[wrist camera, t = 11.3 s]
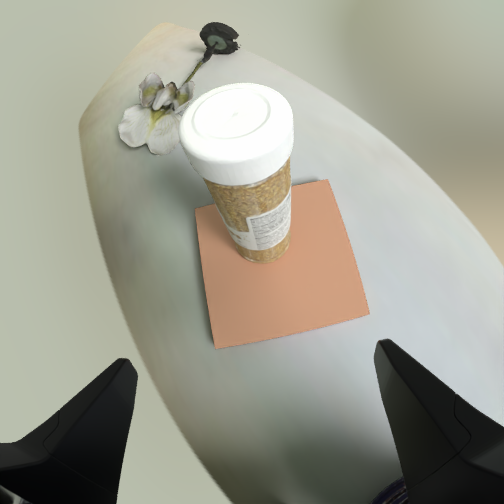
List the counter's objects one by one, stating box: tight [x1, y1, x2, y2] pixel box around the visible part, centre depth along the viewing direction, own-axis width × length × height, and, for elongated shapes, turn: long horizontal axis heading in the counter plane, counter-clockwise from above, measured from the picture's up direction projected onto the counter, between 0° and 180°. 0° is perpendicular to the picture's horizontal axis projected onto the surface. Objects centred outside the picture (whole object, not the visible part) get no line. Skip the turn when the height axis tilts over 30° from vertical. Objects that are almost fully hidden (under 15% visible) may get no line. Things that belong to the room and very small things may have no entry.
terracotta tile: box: [195, 179, 370, 349], centre depth 22 cm, size 12×12×1 cm
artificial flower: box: [118, 22, 240, 156], centre depth 28 cm, size 9×22×10 cm, turn 155°
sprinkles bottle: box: [178, 83, 294, 264], centre depth 16 cm, size 5×5×13 cm
